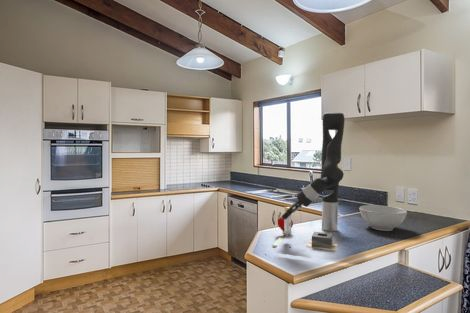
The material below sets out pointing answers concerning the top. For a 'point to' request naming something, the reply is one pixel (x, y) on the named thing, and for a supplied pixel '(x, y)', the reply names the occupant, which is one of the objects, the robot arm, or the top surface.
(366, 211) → the decorative bowl
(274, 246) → the sage mat
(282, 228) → the red rounded lobed piece
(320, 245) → the stand
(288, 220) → the key peg
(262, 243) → the top surface
